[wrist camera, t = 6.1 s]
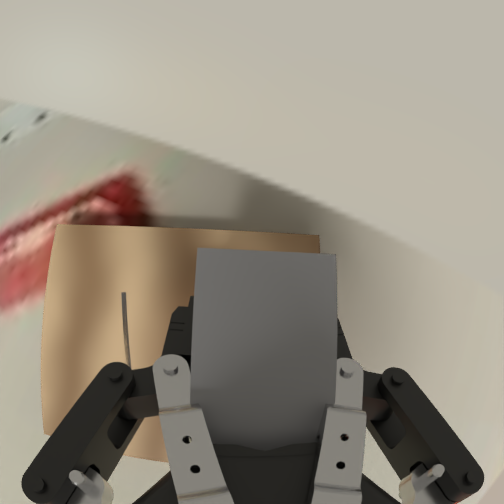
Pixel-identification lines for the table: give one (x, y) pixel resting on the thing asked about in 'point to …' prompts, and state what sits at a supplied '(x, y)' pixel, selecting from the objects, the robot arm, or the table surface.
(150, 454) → the oak board
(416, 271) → the table surface
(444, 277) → the table surface
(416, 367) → the table surface
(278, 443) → the block
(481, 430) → the table surface
